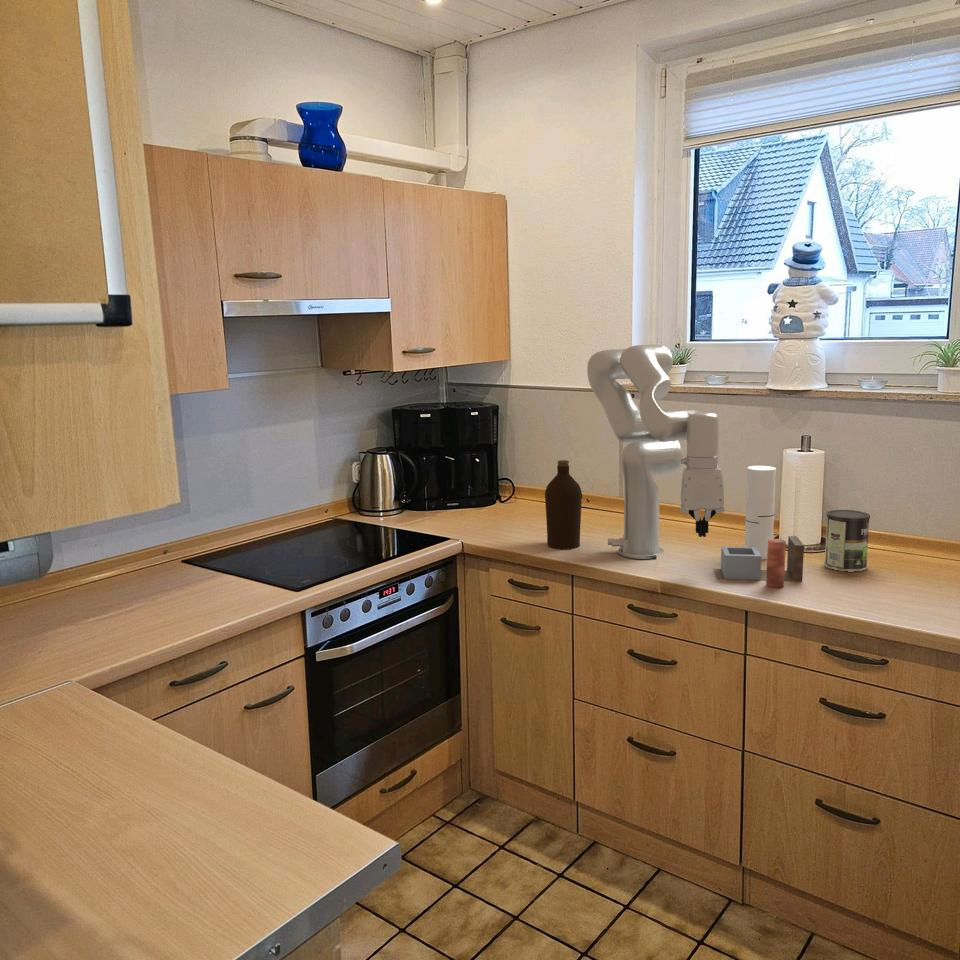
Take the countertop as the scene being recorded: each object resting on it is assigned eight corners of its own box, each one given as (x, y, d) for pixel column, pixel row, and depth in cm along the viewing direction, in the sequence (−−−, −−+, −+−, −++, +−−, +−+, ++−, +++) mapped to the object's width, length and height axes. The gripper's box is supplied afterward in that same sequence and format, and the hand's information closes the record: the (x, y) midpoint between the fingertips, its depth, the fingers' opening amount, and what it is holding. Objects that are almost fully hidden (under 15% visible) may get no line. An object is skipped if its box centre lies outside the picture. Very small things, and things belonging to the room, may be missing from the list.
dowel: (767, 592, 202) (769, 543, 200) (764, 586, 206) (766, 538, 203) (785, 592, 201) (787, 543, 199) (782, 587, 205) (784, 539, 203)
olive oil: (563, 552, 240) (563, 465, 236) (537, 545, 248) (536, 461, 244) (589, 545, 247) (589, 460, 242) (563, 539, 255) (563, 456, 250)
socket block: (724, 578, 209) (725, 555, 208) (720, 569, 217) (721, 546, 216) (760, 579, 208) (761, 556, 207) (755, 570, 216) (756, 547, 215)
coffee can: (869, 564, 222) (872, 511, 220) (863, 574, 214) (866, 519, 211) (827, 559, 228) (830, 507, 225) (820, 569, 219) (823, 515, 216)
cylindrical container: (773, 563, 225) (777, 470, 220) (745, 562, 226) (749, 470, 222) (770, 556, 232) (774, 465, 227) (743, 555, 233) (746, 465, 229)
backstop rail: (717, 583, 209) (718, 543, 208) (713, 572, 218) (714, 534, 216) (802, 585, 206) (804, 545, 204) (794, 574, 215) (796, 536, 213)
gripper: (672, 465, 206) (672, 539, 209) (735, 464, 204) (734, 539, 207) (670, 461, 214) (670, 532, 217) (731, 460, 211) (731, 532, 214)
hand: (701, 535), depth 212 cm, fingers closed
